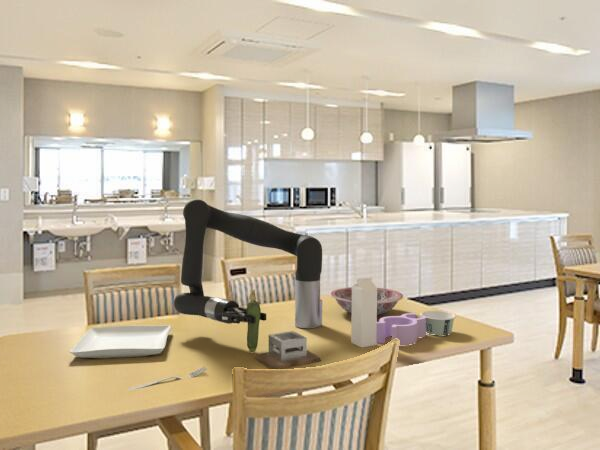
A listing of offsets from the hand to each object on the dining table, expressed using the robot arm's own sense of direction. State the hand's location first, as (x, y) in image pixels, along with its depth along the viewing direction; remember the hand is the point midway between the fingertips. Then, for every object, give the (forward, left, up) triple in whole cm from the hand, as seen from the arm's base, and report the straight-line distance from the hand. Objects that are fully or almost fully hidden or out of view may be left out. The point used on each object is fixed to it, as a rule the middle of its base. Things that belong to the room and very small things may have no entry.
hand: (260, 318), depth 160 cm
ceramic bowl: (-59, -25, -11) cm, 65 cm away
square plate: (+35, -28, -12) cm, 46 cm away
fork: (+32, +8, -12) cm, 35 cm away
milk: (-34, +7, -11) cm, 37 cm away
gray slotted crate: (-5, +8, -11) cm, 15 cm away
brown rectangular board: (-5, +8, -11) cm, 15 cm away
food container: (-65, +9, -11) cm, 66 cm away
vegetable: (+1, -3, -11) cm, 12 cm away
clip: (-49, +9, -11) cm, 51 cm away
